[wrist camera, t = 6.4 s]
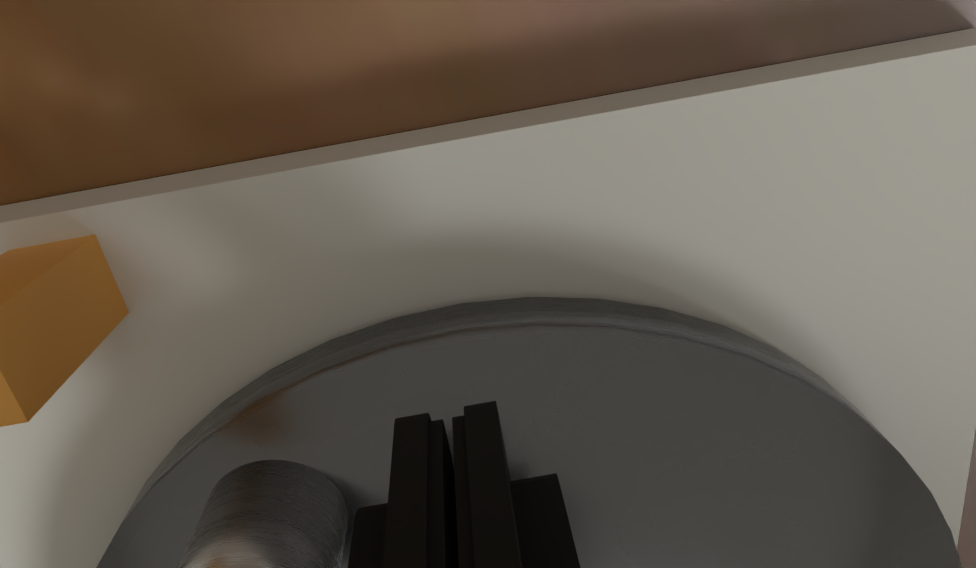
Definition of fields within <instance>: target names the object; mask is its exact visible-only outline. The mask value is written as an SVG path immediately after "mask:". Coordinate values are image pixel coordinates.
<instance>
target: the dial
mask: <svg viewBox="0 0 976 568" xmlns="http://www.w3.org/2000/svg"><path fill="white" fill-rule="evenodd" d="M491 401H496V403H497V408H498V413H499V419H500V424H501V430H502V435H503V440H504V446H505V451H506V457H507V462H508V467H509V473H510V478H511V481H515V480H520V479H526V478H532V477H537V476H543V475H549V474H554V473H557V476H558V479H559V483H560V487H561V491H562V495H563V499H564V503H565V507H566V511H567V515H568V519H569V523H570V527H571V531H572V535H573V539H574V543H575V547H576V551H577V555H578V560H579V564H580V568H962V567H961V563H960V560H959V556H958V553H957V549H956V545H955V542H954V538H953V535H952V531H951V529H950V528H949V526H948V524H947V522H946V520H945V518H944V516H943V514H942V512H941V510H940V508H939V506H938V504H937V502H936V500H935V499H934V497H933V495H932V493H931V491H930V490H929V489H928V487H927V486H926V485H925V484H924V482H923V481H922V480H921V479H920V477H919V476H918V475H917V474H916V472H915V471H914V470H913V469H912V467H911V466H910V465H909V464H908V462H907V461H906V460H905V458H904V457H903V456H902V455H901V454H900V452H899V451H898V450H897V449H896V448H895V447H894V446H893V445H892V444H891V443H890V442H889V441H888V440H887V439H886V438H885V437H884V436H883V435H882V434H881V433H880V432H879V431H878V430H877V429H876V427H875V426H874V425H873V424H872V423H871V422H870V421H869V420H868V419H867V418H866V417H865V416H864V415H863V414H862V413H861V412H860V411H859V410H858V409H857V408H856V407H855V406H854V405H853V404H851V403H850V402H849V401H848V400H847V399H846V398H845V397H843V396H842V395H841V394H840V393H839V392H838V391H837V390H836V389H834V388H833V387H832V386H831V385H830V384H829V383H828V382H826V381H825V380H824V379H823V378H822V377H821V376H819V375H818V374H816V373H814V372H813V371H811V370H810V369H808V368H806V367H805V366H803V365H802V364H800V363H798V362H797V361H795V360H794V359H792V358H790V357H789V356H787V355H786V354H784V353H782V352H781V351H779V350H778V349H776V348H774V347H772V346H770V345H767V344H765V343H763V342H760V341H758V340H756V339H754V338H751V337H749V336H747V335H744V334H742V333H740V332H737V331H735V330H733V329H731V328H728V327H726V326H724V325H721V324H718V323H714V322H711V321H707V320H703V319H700V318H696V317H693V316H689V315H686V314H682V313H679V312H675V311H671V310H668V309H664V308H660V307H653V306H646V305H639V304H632V303H626V302H619V301H612V300H605V299H598V298H561V297H522V298H511V299H501V300H490V301H480V302H469V303H460V304H455V305H451V306H446V307H442V308H437V309H432V310H428V311H423V312H419V313H414V314H409V315H405V316H400V317H395V318H392V319H389V320H386V321H383V322H380V323H378V324H375V325H372V326H369V327H366V328H363V329H360V330H357V331H354V332H352V333H349V334H346V335H343V336H340V337H337V338H334V339H331V340H329V341H327V342H325V343H323V344H321V345H319V346H317V347H315V348H313V349H311V350H309V351H307V352H305V353H303V354H301V355H299V356H296V357H294V358H292V359H290V360H288V361H286V362H284V363H282V364H280V365H278V366H276V367H274V368H272V369H271V370H269V371H268V372H266V373H265V374H263V375H262V376H260V377H259V378H257V379H256V380H254V381H253V382H251V383H250V384H248V385H247V386H245V387H244V388H242V389H241V390H239V391H238V392H236V393H235V394H233V395H232V396H230V397H229V398H227V399H226V400H224V401H223V402H221V403H220V404H219V405H218V406H217V407H216V408H215V409H214V410H213V411H211V412H210V413H209V414H208V415H207V416H206V417H205V418H204V419H203V420H201V421H200V422H199V423H198V424H197V425H196V426H195V427H194V428H193V429H191V430H190V431H189V432H188V433H187V434H186V435H185V436H184V437H182V438H181V439H180V440H179V441H178V443H177V444H176V445H175V446H174V447H173V449H172V450H171V451H170V452H169V454H168V455H167V456H166V457H165V458H164V460H163V461H162V462H161V463H160V465H159V466H158V467H157V468H156V470H155V471H154V472H153V473H152V474H151V476H150V477H149V478H148V479H147V481H146V482H145V484H144V485H143V487H142V489H141V491H140V492H139V494H138V496H137V497H136V499H135V501H134V503H133V504H132V506H131V508H130V509H129V511H128V513H127V515H126V516H125V518H124V520H123V522H122V523H121V525H120V527H119V528H118V530H117V532H116V534H115V535H114V537H113V539H112V541H111V542H110V544H109V546H108V548H107V549H106V551H105V553H104V555H103V556H102V558H101V560H100V562H99V563H98V565H97V567H96V568H348V561H349V554H350V547H351V540H352V533H353V526H354V519H355V515H356V511H357V510H358V508H362V507H367V506H373V505H379V504H384V503H388V494H389V482H390V470H391V458H392V445H393V433H394V422H395V419H396V418H400V417H406V416H412V415H417V414H423V413H429V415H430V417H431V421H435V420H440V419H443V421H444V425H445V429H446V433H447V438H448V442H449V447H450V451H451V455H452V460H453V464H454V451H453V429H452V417H457V416H463V415H464V406H468V405H474V404H479V403H485V402H491Z"/></svg>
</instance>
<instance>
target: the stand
mask: <svg viewBox="0 0 976 568" xmlns="http://www.w3.org/2000/svg"><path fill="white" fill-rule="evenodd" d="M522 297H561V298H598V299H605V300H612V301H619V302H626V303H632V304H639V305H646V306H653V307H660V308H664V309H668V310H671V311H675V312H679V313H682V314H686V315H689V316H693V317H696V318H700V319H703V320H707V321H711V322H714V323H718V324H721V325H724V326H726V327H728V328H731V329H733V330H735V331H737V332H740V333H742V334H744V335H747V336H749V337H751V338H754V339H756V340H758V341H760V342H763V343H765V344H767V345H770V346H772V347H774V348H776V349H778V350H779V351H781V352H782V353H784V354H786V355H787V356H789V357H790V358H792V359H794V360H795V361H797V362H798V363H800V364H802V365H803V366H805V367H806V368H808V369H810V370H811V371H813V372H814V373H816V374H818V375H819V376H821V377H822V378H823V379H824V380H825V381H826V382H828V383H829V384H830V385H831V386H832V387H833V388H834V389H836V390H837V391H838V392H839V393H840V394H841V395H842V396H843V397H845V398H846V399H847V400H848V401H849V402H850V403H851V404H853V405H854V406H855V407H856V408H857V409H858V410H859V411H860V412H861V413H862V414H863V415H864V416H865V417H866V418H867V419H868V420H869V421H870V422H871V423H872V424H873V425H874V426H875V427H876V429H877V430H878V431H879V432H880V433H881V434H882V435H883V436H884V437H885V438H886V439H887V440H888V441H889V442H890V443H891V444H892V445H893V446H894V447H895V448H896V449H897V450H898V451H899V452H900V454H901V455H902V456H903V457H904V458H905V460H906V461H907V462H908V464H909V465H910V466H911V467H912V469H913V470H914V471H915V472H916V474H917V475H918V476H919V477H920V479H921V480H922V481H923V482H924V484H925V485H926V486H927V487H928V489H929V490H930V491H931V493H932V495H933V497H934V499H935V500H936V502H937V504H938V506H939V508H940V510H941V512H942V514H943V516H944V518H945V520H946V522H947V524H948V526H949V528H950V529H951V531H952V535H953V538H954V542H955V545H956V549H957V544H958V538H959V532H960V525H961V519H962V513H963V506H964V500H965V494H966V487H967V481H968V474H969V468H970V462H971V455H972V449H973V443H974V436H975V430H976V28H972V29H966V30H961V31H955V32H950V33H944V34H939V35H933V36H928V37H922V38H917V39H912V40H906V41H901V42H895V43H890V44H884V45H879V46H873V47H868V48H862V49H857V50H851V51H846V52H840V53H835V54H829V55H824V56H818V57H813V58H807V59H802V60H797V61H791V62H786V63H780V64H775V65H769V66H764V67H758V68H753V69H747V70H742V71H736V72H731V73H725V74H720V75H714V76H709V77H703V78H698V79H692V80H687V81H681V82H676V83H671V84H665V85H660V86H654V87H649V88H643V89H638V90H632V91H627V92H621V93H616V94H610V95H605V96H599V97H594V98H588V99H583V100H577V101H572V102H566V103H561V104H556V105H550V106H545V107H539V108H534V109H528V110H523V111H517V112H512V113H506V114H501V115H495V116H490V117H484V118H479V119H473V120H468V121H462V122H457V123H451V124H446V125H441V126H435V127H430V128H424V129H419V130H413V131H408V132H402V133H397V134H391V135H386V136H380V137H375V138H369V139H364V140H358V141H353V142H347V143H342V144H336V145H331V146H326V147H320V148H315V149H309V150H304V151H298V152H293V153H287V154H282V155H276V156H271V157H265V158H260V159H254V160H249V161H243V162H238V163H232V164H227V165H221V166H216V167H211V168H205V169H200V170H194V171H189V172H183V173H178V174H172V175H167V176H161V177H156V178H150V179H145V180H139V181H134V182H128V183H123V184H117V185H112V186H106V187H101V188H96V189H90V190H85V191H79V192H74V193H68V194H63V195H57V196H52V197H46V198H41V199H35V200H30V201H24V202H19V203H13V204H8V205H2V206H0V567H1V568H96V567H97V565H98V563H99V562H100V560H101V558H102V556H103V555H104V553H105V551H106V549H107V548H108V546H109V544H110V542H111V541H112V539H113V537H114V535H115V534H116V532H117V530H118V528H119V527H120V525H121V523H122V522H123V520H124V518H125V516H126V515H127V513H128V511H129V509H130V508H131V506H132V504H133V503H134V501H135V499H136V497H137V496H138V494H139V492H140V491H141V489H142V487H143V485H144V484H145V482H146V481H147V479H148V478H149V477H150V476H151V474H152V473H153V472H154V471H155V470H156V468H157V467H158V466H159V465H160V463H161V462H162V461H163V460H164V458H165V457H166V456H167V455H168V454H169V452H170V451H171V450H172V449H173V447H174V446H175V445H176V444H177V443H178V441H179V440H180V439H181V438H182V437H184V436H185V435H186V434H187V433H188V432H189V431H190V430H191V429H193V428H194V427H195V426H196V425H197V424H198V423H199V422H200V421H201V420H203V419H204V418H205V417H206V416H207V415H208V414H209V413H210V412H211V411H213V410H214V409H215V408H216V407H217V406H218V405H219V404H220V403H221V402H223V401H224V400H226V399H227V398H229V397H230V396H232V395H233V394H235V393H236V392H238V391H239V390H241V389H242V388H244V387H245V386H247V385H248V384H250V383H251V382H253V381H254V380H256V379H257V378H259V377H260V376H262V375H263V374H265V373H266V372H268V371H269V370H271V369H272V368H274V367H276V366H278V365H280V364H282V363H284V362H286V361H288V360H290V359H292V358H294V357H296V356H299V355H301V354H303V353H305V352H307V351H309V350H311V349H313V348H315V347H317V346H319V345H321V344H323V343H325V342H327V341H329V340H331V339H334V338H337V337H340V336H343V335H346V334H349V333H352V332H354V331H357V330H360V329H363V328H366V327H369V326H372V325H375V324H378V323H380V322H383V321H386V320H389V319H392V318H395V317H400V316H405V315H409V314H414V313H419V312H423V311H428V310H432V309H437V308H442V307H446V306H451V305H455V304H460V303H469V302H480V301H490V300H501V299H511V298H522Z"/></svg>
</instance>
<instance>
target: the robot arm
mask: <svg viewBox="0 0 976 568" xmlns="http://www.w3.org/2000/svg"><path fill="white" fill-rule="evenodd" d="M452 429H453V451H454V464H453V460H452V455H451V451H450V447H449V442H448V438H447V433H446V429H445V425H444V421H443V419H440V420H435V421H431V417H430V415H429V413H423V414H417V415H412V416H406V417H400V418H396V419H395V422H394V433H393V445H392V458H391V470H390V482H389V494H388V503H384V504H379V505H373V506H367V507H362V508H358V510H357V511H356V515H355V519H354V526H353V533H352V540H351V547H350V554H349V561H348V568H580V564H579V560H578V555H577V551H576V547H575V543H574V539H573V535H572V531H571V527H570V523H569V519H568V515H567V511H566V507H565V503H564V499H563V495H562V491H561V487H560V483H559V479H558V476H557V473H554V474H549V475H543V476H537V477H532V478H526V479H520V480H515V481H511V478H510V473H509V467H508V462H507V457H506V451H505V446H504V440H503V435H502V430H501V424H500V419H499V413H498V408H497V403H496V401H491V402H485V403H479V404H474V405H468V406H464V415H463V416H457V417H452Z"/></svg>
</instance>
